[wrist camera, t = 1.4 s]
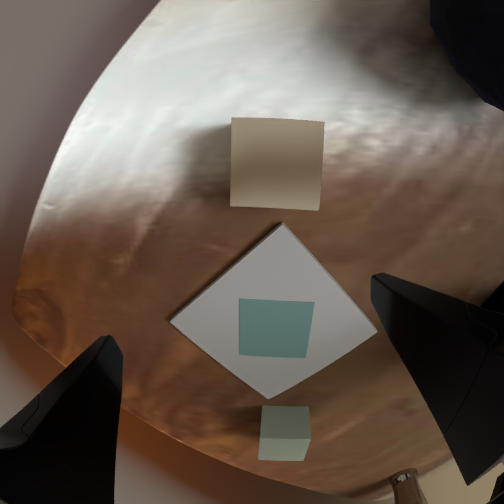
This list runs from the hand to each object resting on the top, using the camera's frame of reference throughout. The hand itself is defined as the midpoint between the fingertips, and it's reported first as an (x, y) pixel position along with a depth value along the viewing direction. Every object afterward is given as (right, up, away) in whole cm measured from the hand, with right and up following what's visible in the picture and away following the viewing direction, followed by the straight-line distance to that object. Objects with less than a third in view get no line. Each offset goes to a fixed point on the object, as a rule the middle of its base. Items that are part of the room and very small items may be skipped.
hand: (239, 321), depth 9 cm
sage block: (+4, -19, +23) cm, 30 cm away
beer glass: (+31, -42, +31) cm, 60 cm away
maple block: (+2, +9, +13) cm, 16 cm away
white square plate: (+3, -5, +18) cm, 19 cm away
